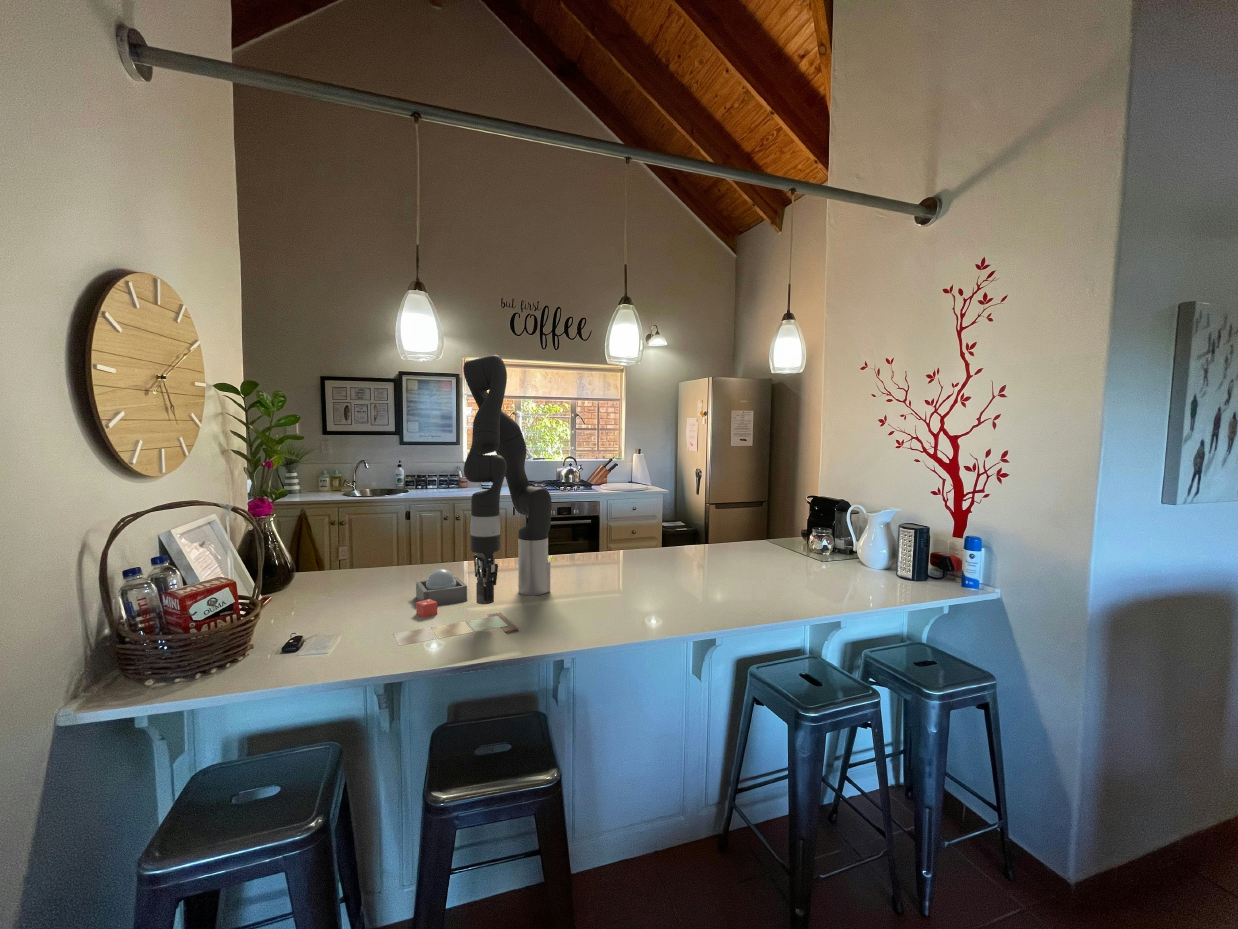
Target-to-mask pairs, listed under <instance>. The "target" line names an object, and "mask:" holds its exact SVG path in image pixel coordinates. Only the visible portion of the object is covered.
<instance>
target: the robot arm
mask: <svg viewBox="0 0 1238 929" xmlns="http://www.w3.org/2000/svg"><path fill="white" fill-rule="evenodd" d="M462 370H463V371H462V372H463V375H464V379H465V381H466V385H467V387H468V388H469V392H470V393H471V395H472V397H473V399H474V401H475V403H476V406H477V407H478V409H477V412H476V413H475V416H474V418H473V423H472V433H471V434H472V437H471V446H470V449H469V452H468V454H467V456H466V459H465V462H464V464H463V465H464V466H463V475H464V477H465V479H466V480H467V481H468V482H470V483H492V485H491V487H489V488H488V489H486V490H482V491H476V492H474V493H473V494H472V495H471V497H470V498H471V502H470V503H471V504H470V507H471V510H470V512H471V513H470V514H471V516H470V517H471V518H470V525H469V526H470V528H469V529H470V531H469V532H470V534H469V536H470V539H469V542H470V544H469V545H470V546H469V547H470V551H471V552H472V553H475V554H473V564H474V565H473V566H474V577H475V578H476V581H478V579H479V578H480V577H481V578H483V586H484V601H491V600H493V586H494V587H495V586H496V585H497V580H498V572H499V570H498V569H499V564H498V563H496V559H495V557H494V553H497V552H499V551H500V550H501V519H500V517H501V516H500V500H501V491H502V486H503V483H504V480H505V479H506V483H507V487H508V491H509V494H510V499H511V501H512V505H513V507H514V509H515V511H517V513H518V514H520V515H523V516H527V524H526V526H522V527H520V528H519V530H518V535H517V536H518V538H517V539H518V540H517V541H518V542H517V543H518V551H517V552H518V556H517V557H518V562H517V563H518V568H517V569H518V581H517V582H518V586H517V587H518V593H519V594H520V595H522V596H523V595H524V596H540V595H541V596H542V595H544V594H547V593H550V592H551V561H550V560H549V532H550V529H551V525H552V505H553V504H552V497H551V493H550V492H549V491H548V489H546V488H544V487H537V486H532V485H531V484H530V481H529V479H528V477H527V474H526V473H527V472H526V470H525V467H526V458H527V457H526V456H527V444H526V441H525V438H524V435H523V432H522V429H521V428H520V425H519V424H518V423H517V422H516V421H515V420H514V419H513V418H512V417H511V416H509V415H508V414H507V413H506V412H504V411H503V410H502V409H503V403H504V399H505V395H506V394H505V393H506V387H507V382H508V375H507V374H508V373H507V372H508V371H507V367H506V365H505V363H504V360H503V359H502V357H500V356H499V355H498V354H491V355H486V356H483V357H479V358H474V359H471V360H468V361H465V363H464V364H463V369H462ZM494 452H495V454H492V453H494ZM490 578H491V581H489V579H490Z"/></svg>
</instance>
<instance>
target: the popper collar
mask: <svg viewBox="0 0 1238 929" xmlns="http://www.w3.org/2000/svg"><path fill="white" fill-rule="evenodd" d="M454 579H455V580H456V587H451V588H443V589H436V590H429V591H427V590H426V582H427V581H428V579H426V580H419V581H415V598H416V599H417V600H418V602H419V601H423V600H428V599H431V600H433V601H436V602H437V607H439V606H444V605H452V604H459V603H464V602H467V601H468V585H467V584H466V583H465V582H464V581H462V579H460V578H459V577H458V576H454Z"/></svg>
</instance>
